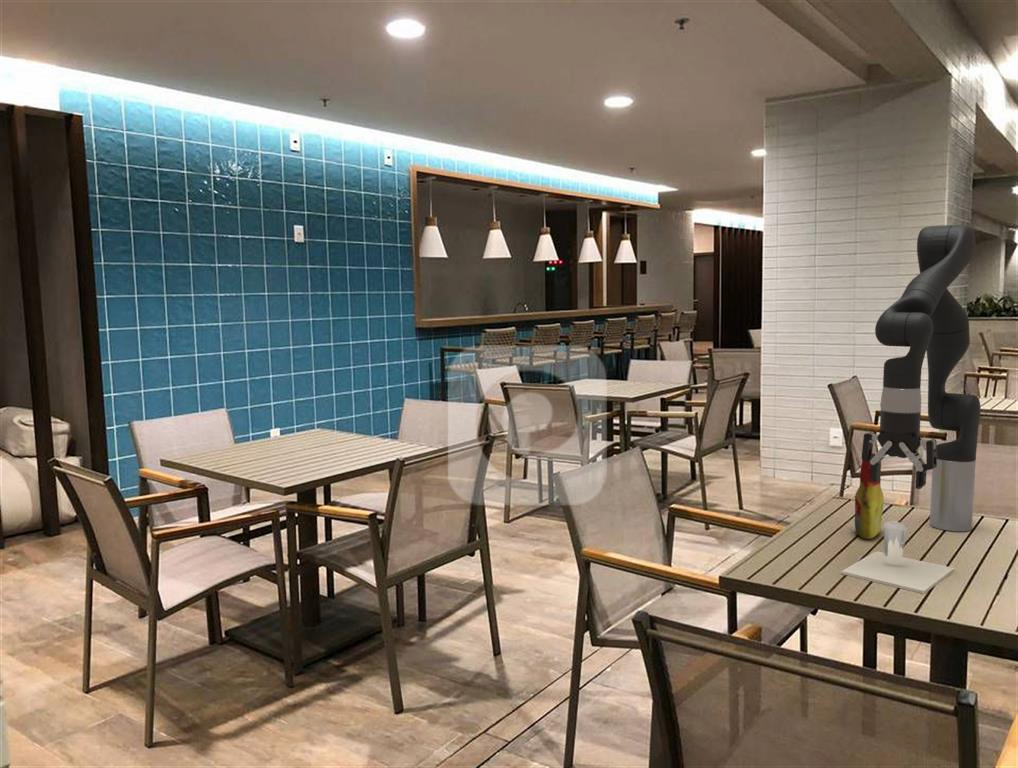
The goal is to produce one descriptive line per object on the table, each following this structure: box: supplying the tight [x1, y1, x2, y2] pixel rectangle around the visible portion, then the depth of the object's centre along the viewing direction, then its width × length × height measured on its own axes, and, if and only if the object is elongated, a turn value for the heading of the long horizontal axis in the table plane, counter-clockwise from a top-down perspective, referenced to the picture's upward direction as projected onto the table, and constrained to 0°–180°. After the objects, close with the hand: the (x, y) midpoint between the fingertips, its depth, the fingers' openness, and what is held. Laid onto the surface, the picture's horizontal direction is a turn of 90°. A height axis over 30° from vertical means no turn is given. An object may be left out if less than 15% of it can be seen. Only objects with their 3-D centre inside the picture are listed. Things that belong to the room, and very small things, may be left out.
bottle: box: [854, 452, 885, 540], centre depth 191 cm, size 12×6×20 cm, turn 150°
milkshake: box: [883, 518, 912, 566], centre depth 169 cm, size 4×5×10 cm
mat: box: [841, 550, 955, 595], centre depth 166 cm, size 18×16×1 cm
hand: (897, 485), depth 168 cm, fingers open, 8 cm apart
